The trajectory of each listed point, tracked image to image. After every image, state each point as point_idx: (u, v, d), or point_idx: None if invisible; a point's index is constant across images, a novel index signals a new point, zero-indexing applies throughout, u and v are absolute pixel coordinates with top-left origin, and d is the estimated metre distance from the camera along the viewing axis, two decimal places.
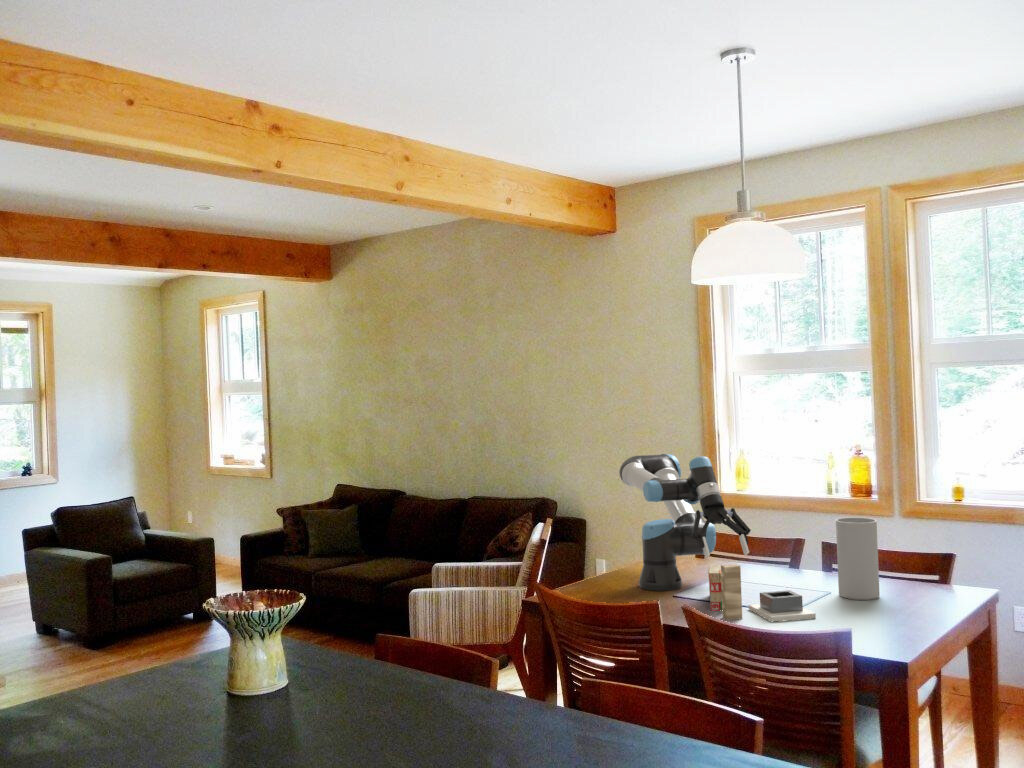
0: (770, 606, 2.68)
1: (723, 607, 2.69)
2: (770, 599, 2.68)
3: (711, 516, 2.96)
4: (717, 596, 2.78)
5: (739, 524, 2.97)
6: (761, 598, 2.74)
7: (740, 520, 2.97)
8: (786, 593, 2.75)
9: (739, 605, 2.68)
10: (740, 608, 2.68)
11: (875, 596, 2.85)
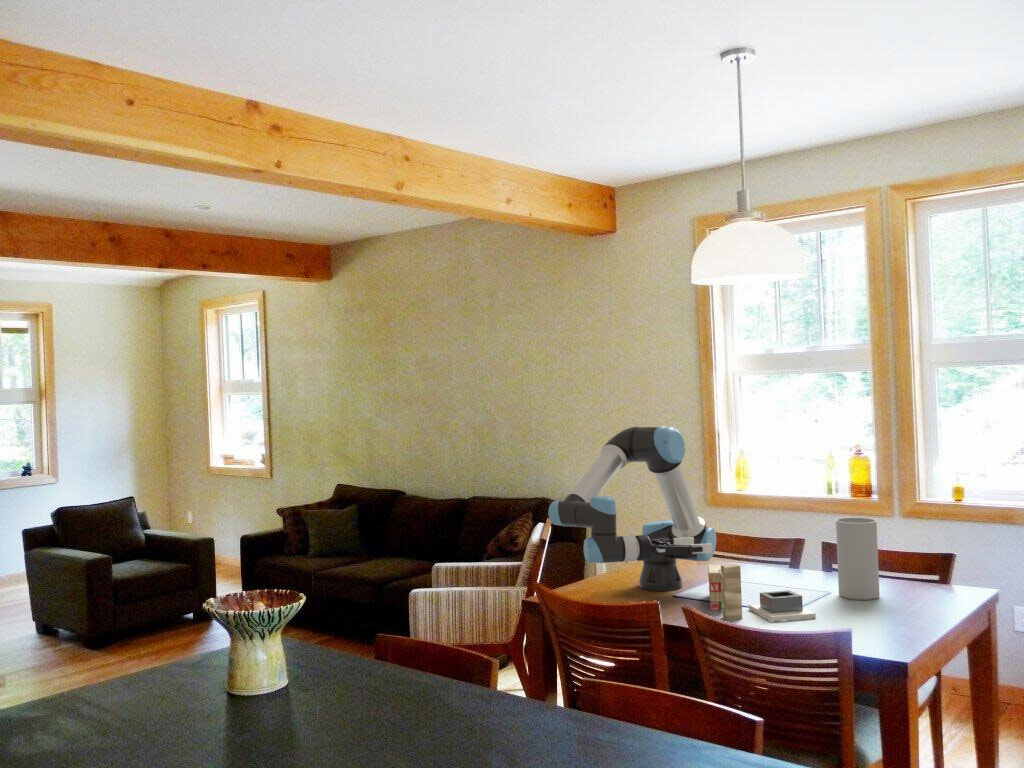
0: (770, 606, 2.68)
1: (723, 607, 2.69)
2: (770, 599, 2.68)
3: None
4: (717, 596, 2.79)
5: None
6: (761, 598, 2.74)
7: (675, 554, 2.58)
8: (786, 593, 2.75)
9: (739, 605, 2.68)
10: (740, 608, 2.68)
11: (875, 596, 2.85)
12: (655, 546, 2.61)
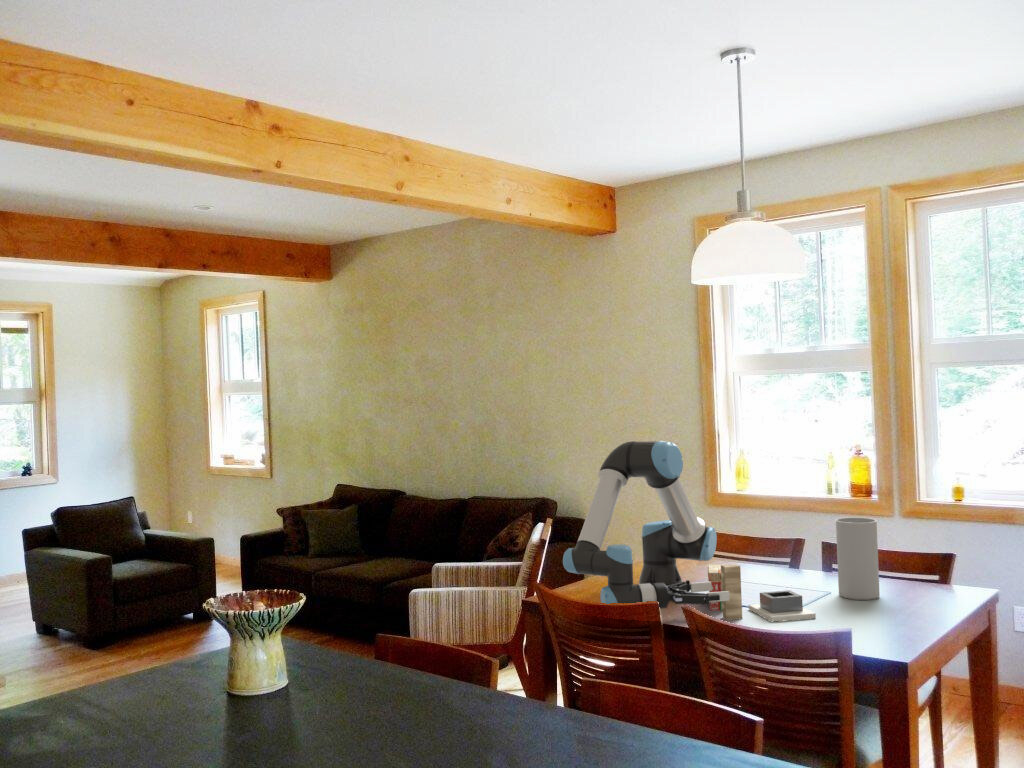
0: (770, 606, 2.68)
1: (723, 607, 2.69)
2: (770, 599, 2.68)
3: None
4: None
5: None
6: (761, 598, 2.74)
7: None
8: (786, 593, 2.75)
9: (739, 605, 2.68)
10: (740, 608, 2.68)
11: (875, 596, 2.85)
12: (672, 594, 2.62)
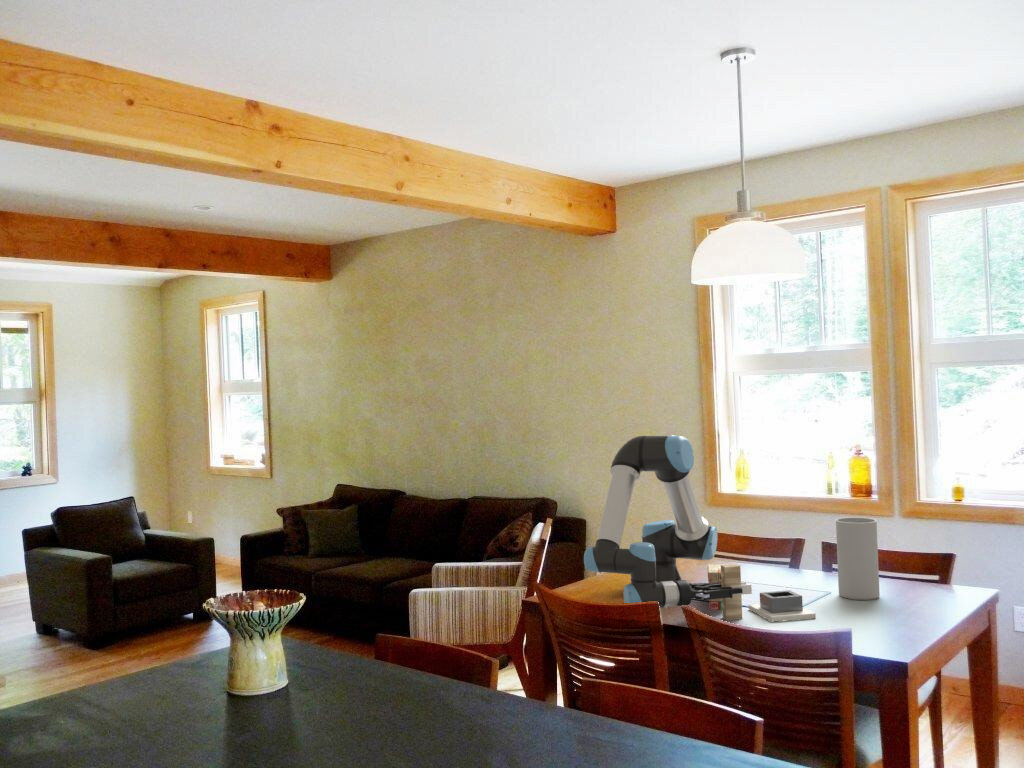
0: (770, 606, 2.68)
1: (723, 607, 2.69)
2: (770, 599, 2.68)
3: None
4: None
5: None
6: (761, 598, 2.74)
7: None
8: (786, 593, 2.75)
9: (739, 605, 2.68)
10: (740, 608, 2.68)
11: (875, 596, 2.85)
12: (697, 592, 2.63)
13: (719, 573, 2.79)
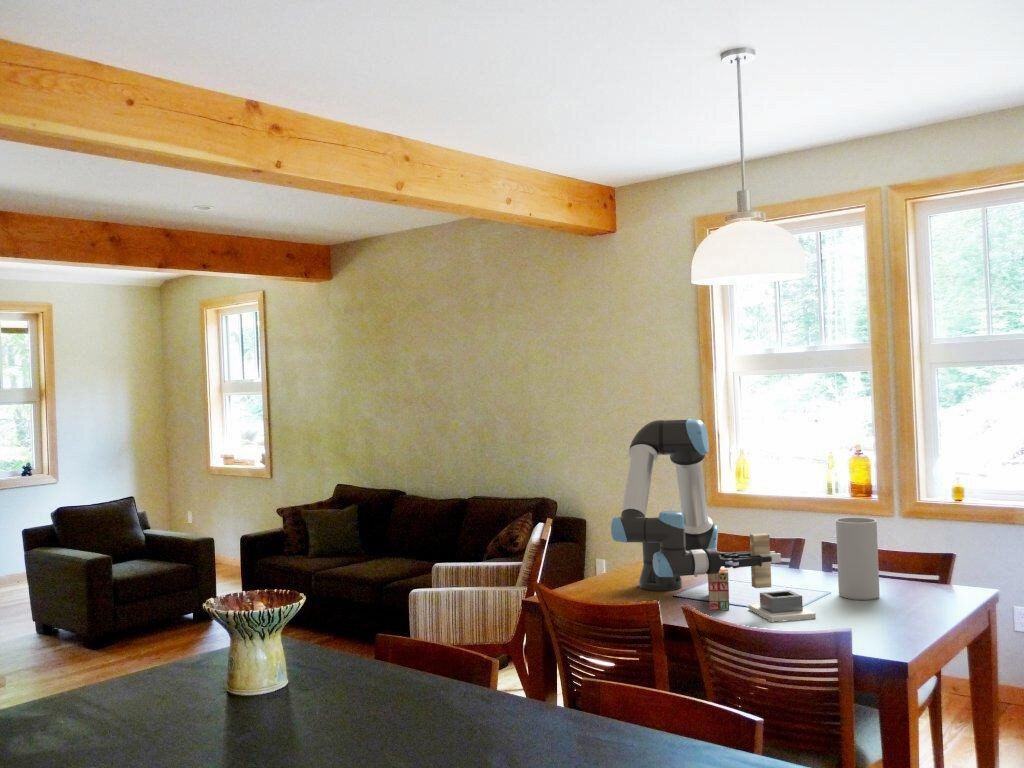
0: (770, 606, 2.68)
1: (752, 576, 2.70)
2: (770, 599, 2.68)
3: None
4: (716, 595, 2.80)
5: None
6: (761, 598, 2.74)
7: None
8: (786, 593, 2.75)
9: (768, 574, 2.69)
10: (769, 577, 2.69)
11: (875, 596, 2.85)
12: (726, 560, 2.64)
13: (719, 573, 2.80)
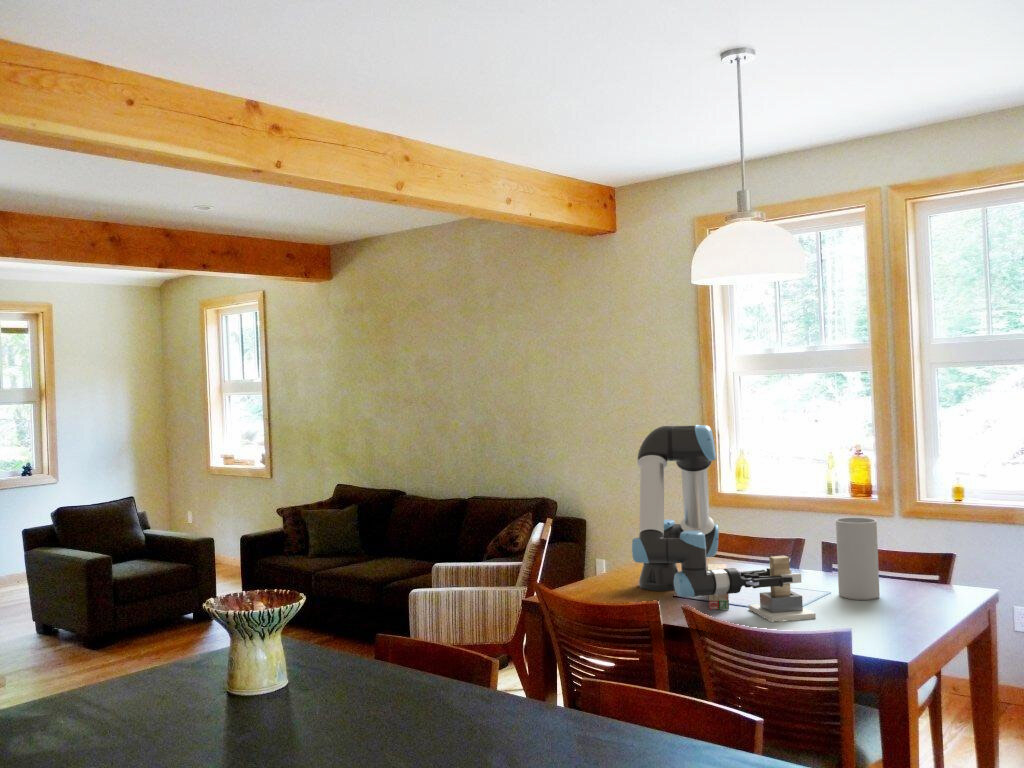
0: (770, 606, 2.68)
1: None
2: (770, 599, 2.68)
3: None
4: None
5: None
6: (761, 598, 2.74)
7: None
8: None
9: None
10: None
11: (875, 596, 2.85)
12: (746, 580, 2.66)
13: None
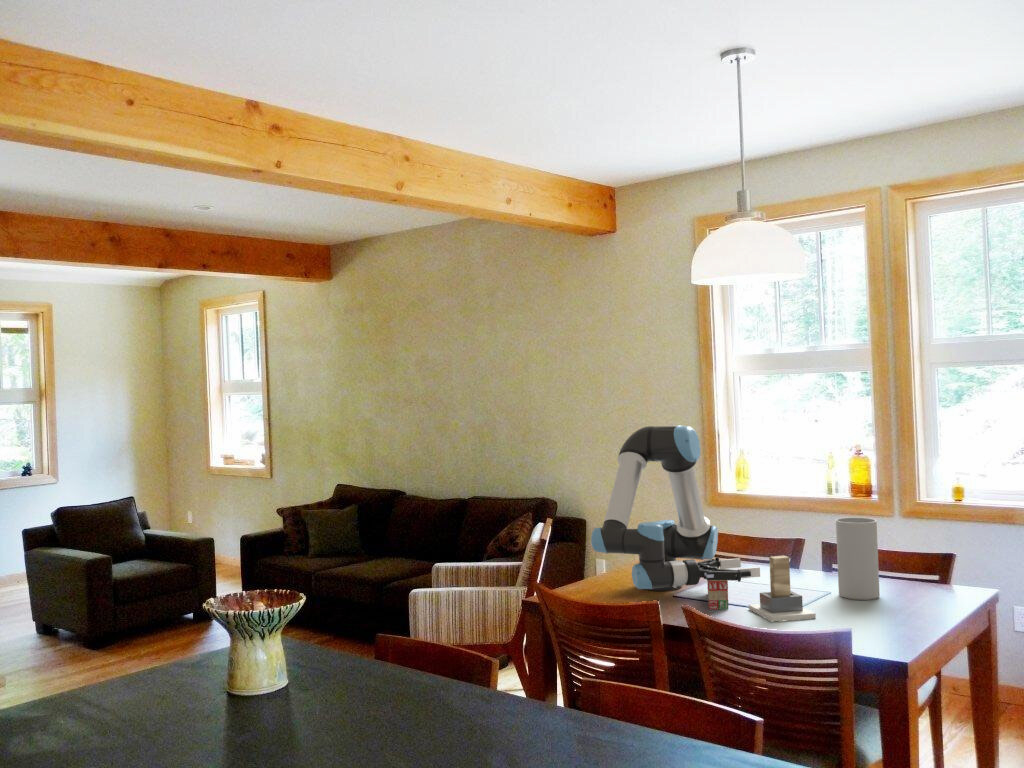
0: (770, 606, 2.68)
1: None
2: (770, 599, 2.68)
3: None
4: (715, 595, 2.81)
5: None
6: (761, 598, 2.74)
7: None
8: None
9: None
10: None
11: (875, 596, 2.85)
12: (703, 571, 2.63)
13: None
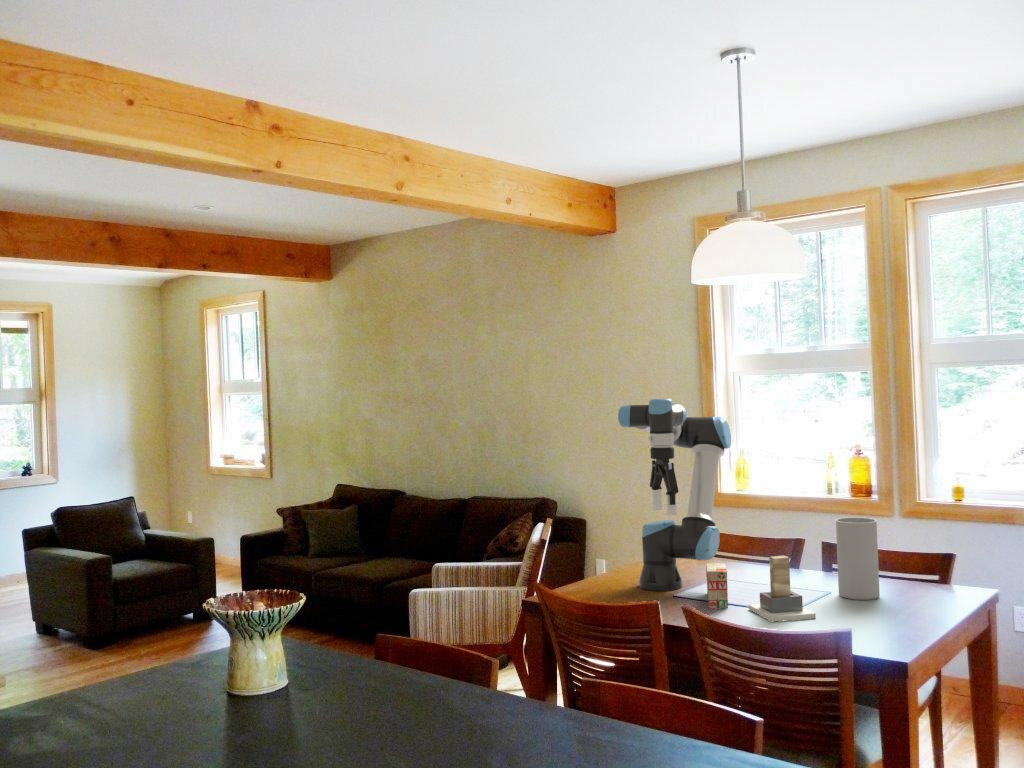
0: (770, 606, 2.68)
1: None
2: (770, 599, 2.68)
3: (655, 470, 2.87)
4: (715, 594, 2.81)
5: None
6: (761, 598, 2.74)
7: (667, 478, 2.77)
8: None
9: None
10: None
11: (875, 596, 2.85)
12: (669, 462, 2.81)
13: (718, 572, 2.81)
